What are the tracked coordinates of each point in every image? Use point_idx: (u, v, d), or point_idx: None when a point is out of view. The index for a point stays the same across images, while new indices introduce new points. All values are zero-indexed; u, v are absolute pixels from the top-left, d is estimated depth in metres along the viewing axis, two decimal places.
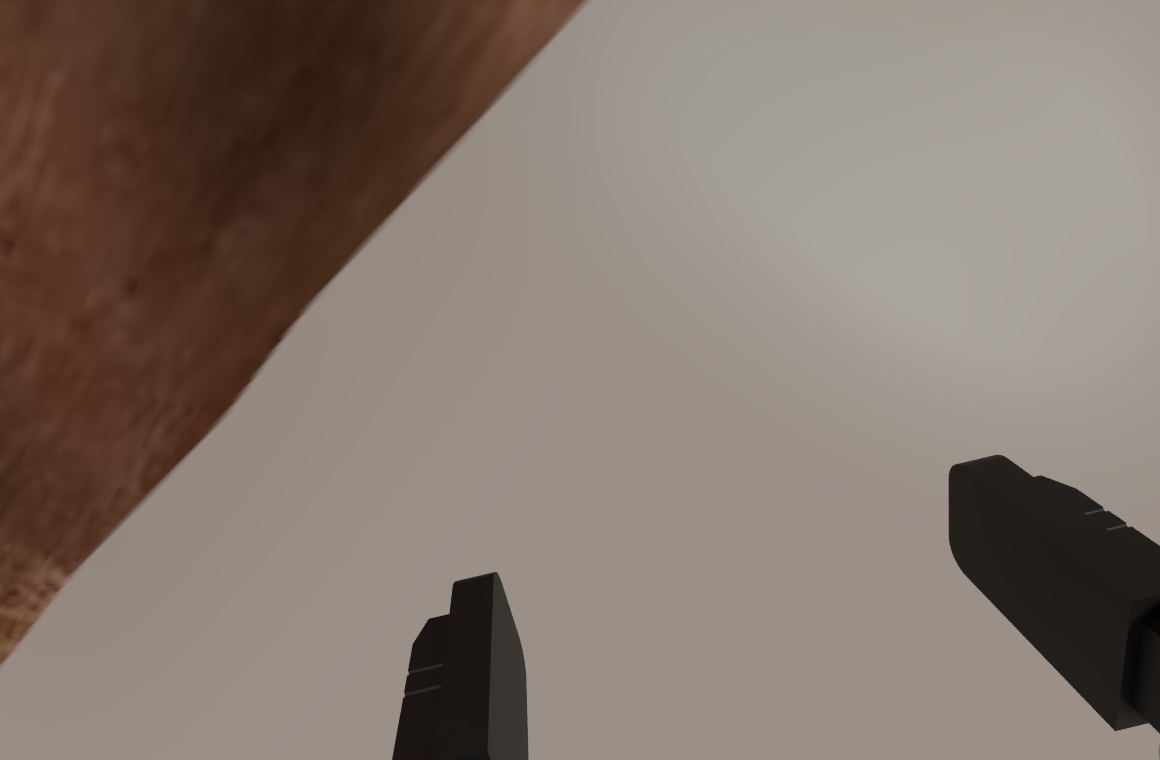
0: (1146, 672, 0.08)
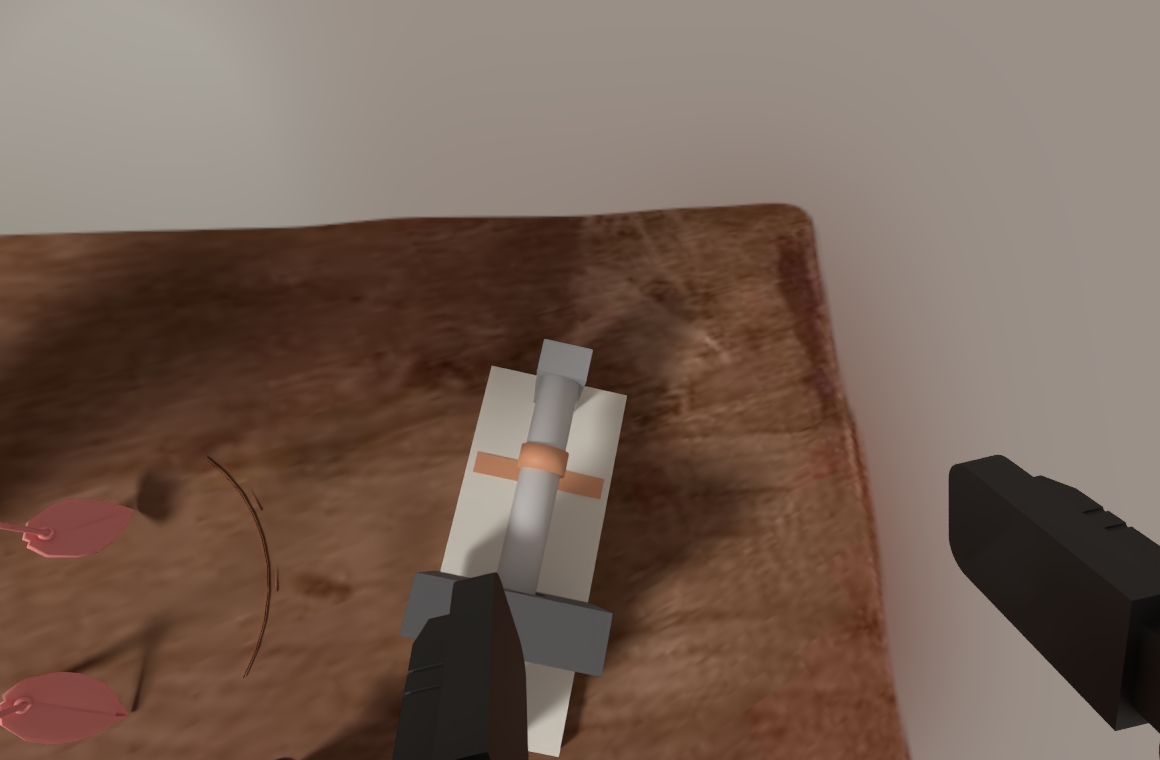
0: (1146, 672, 0.08)
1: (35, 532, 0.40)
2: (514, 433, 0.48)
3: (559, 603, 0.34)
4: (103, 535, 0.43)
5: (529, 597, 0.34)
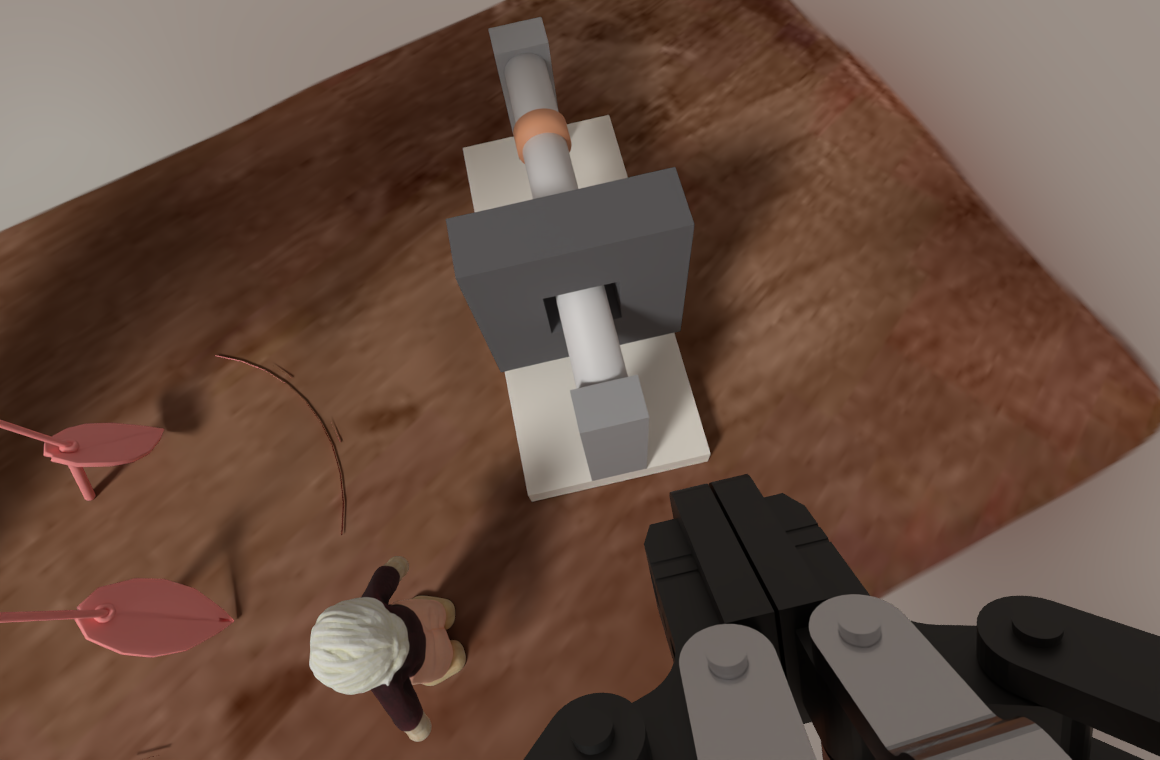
0: (803, 673, 0.10)
1: (54, 440, 0.35)
2: (513, 192, 0.44)
3: (613, 181, 0.29)
4: (135, 447, 0.38)
5: (578, 190, 0.29)
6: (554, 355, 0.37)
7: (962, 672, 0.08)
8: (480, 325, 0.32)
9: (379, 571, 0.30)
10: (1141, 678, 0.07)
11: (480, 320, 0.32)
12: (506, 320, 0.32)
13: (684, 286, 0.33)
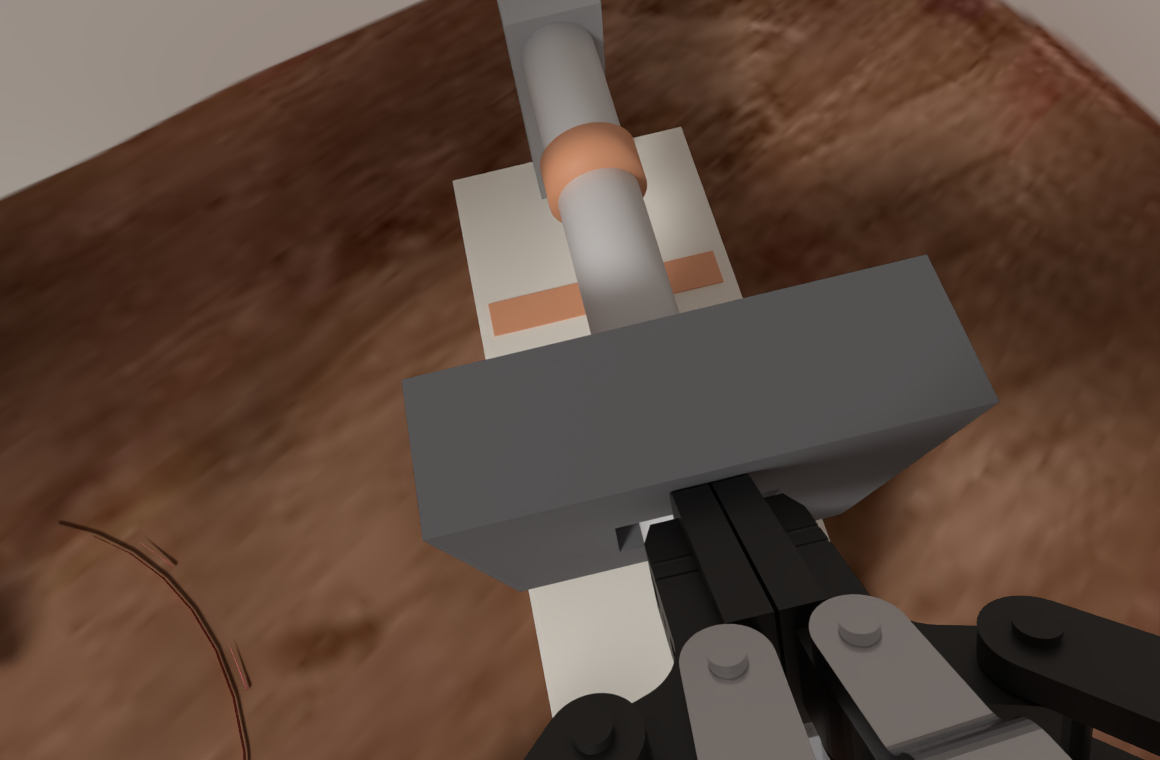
0: (802, 674, 0.10)
1: None
2: (534, 253, 0.28)
3: (786, 290, 0.13)
4: None
5: (705, 311, 0.13)
6: (617, 565, 0.20)
7: (962, 672, 0.08)
8: (483, 569, 0.16)
9: None
10: (1141, 678, 0.07)
11: (483, 565, 0.15)
12: (536, 556, 0.16)
13: (893, 475, 0.16)
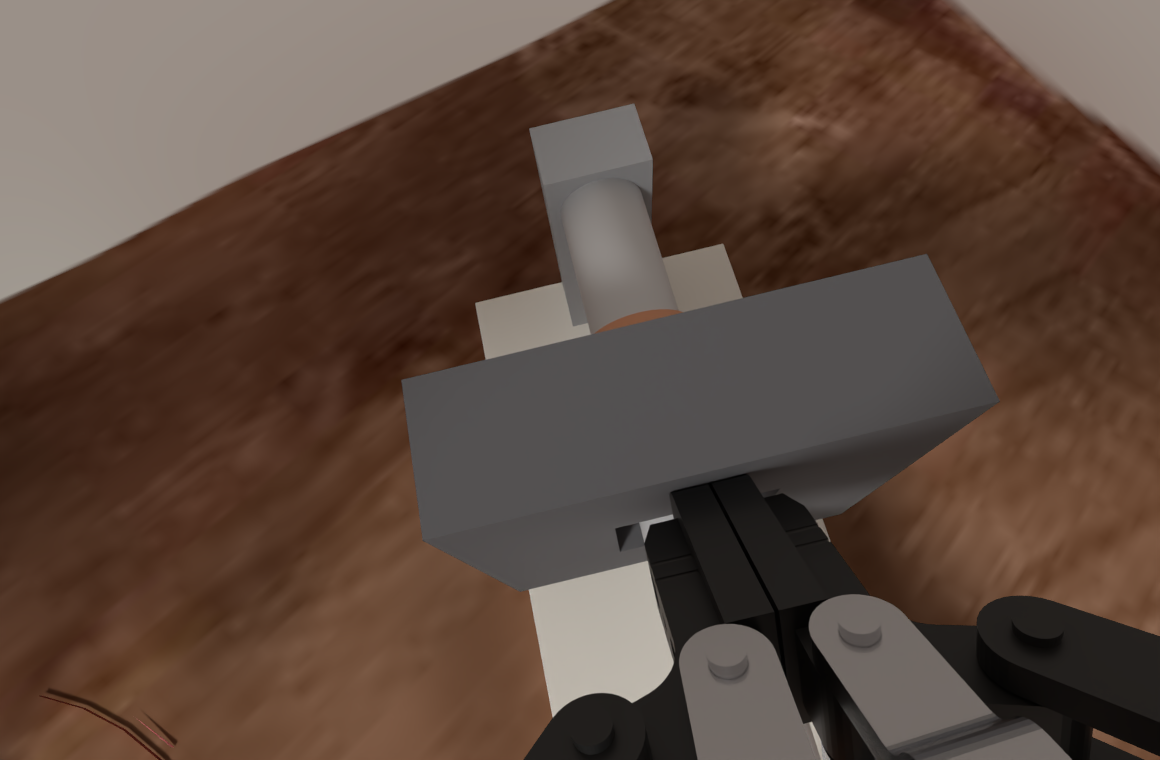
0: (802, 673, 0.10)
1: None
2: None
3: (785, 289, 0.13)
4: None
5: (705, 310, 0.13)
6: (617, 565, 0.20)
7: (962, 672, 0.08)
8: (483, 569, 0.16)
9: None
10: (1141, 678, 0.07)
11: (483, 565, 0.15)
12: (536, 556, 0.16)
13: (893, 475, 0.16)
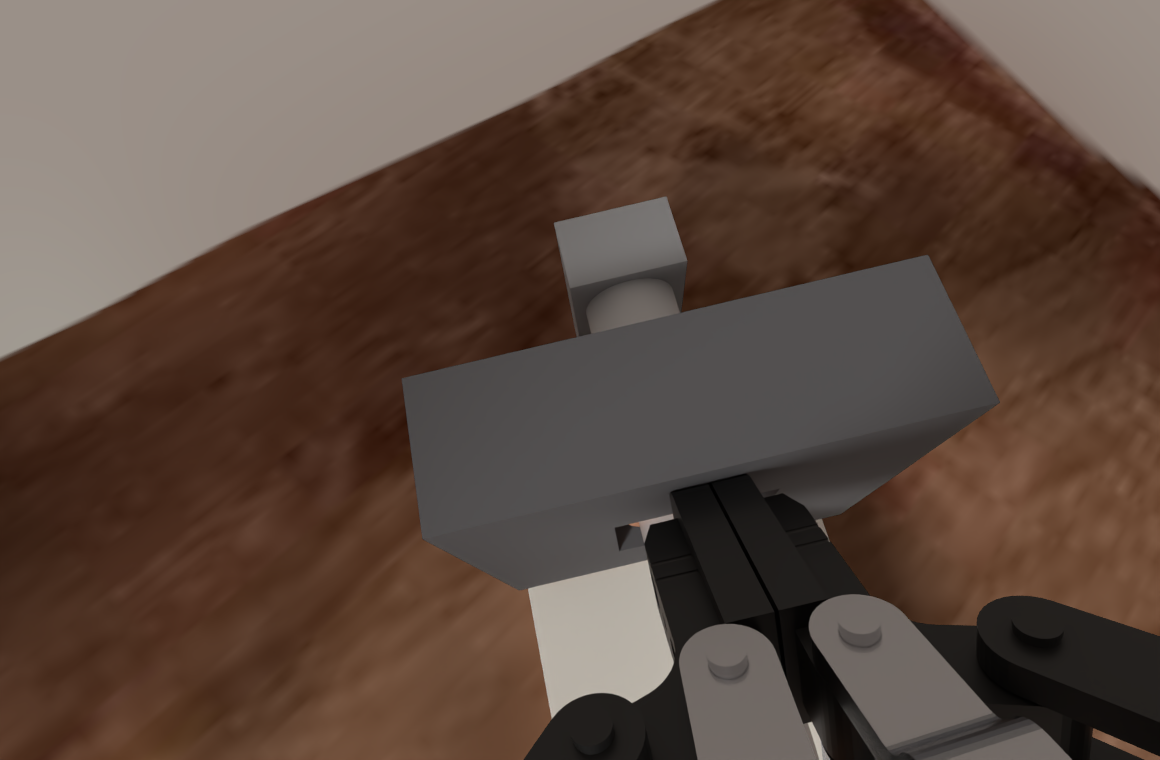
0: (803, 673, 0.10)
1: None
2: None
3: (786, 289, 0.13)
4: None
5: (706, 310, 0.13)
6: (616, 565, 0.20)
7: (962, 672, 0.08)
8: (482, 567, 0.16)
9: None
10: (1141, 678, 0.07)
11: (482, 564, 0.15)
12: (536, 555, 0.16)
13: (892, 475, 0.16)
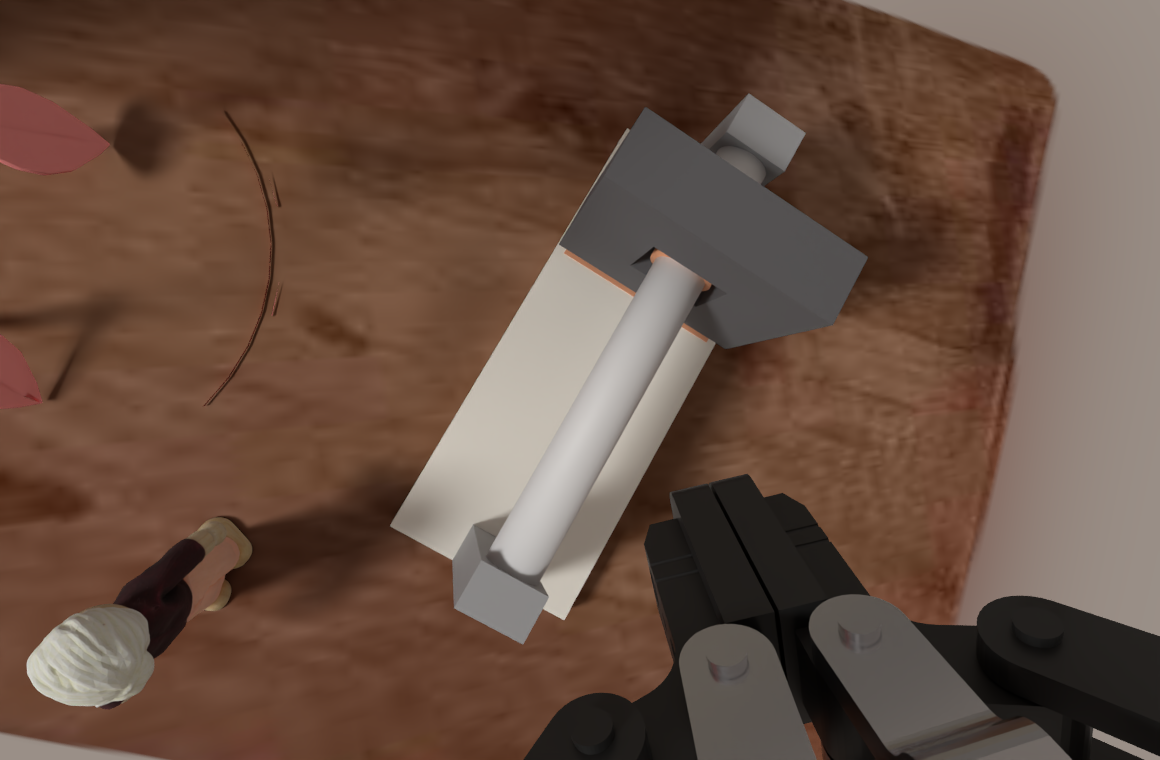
0: (802, 674, 0.10)
1: None
2: None
3: (809, 218, 0.25)
4: (59, 156, 0.31)
5: (775, 197, 0.25)
6: (613, 274, 0.34)
7: (962, 672, 0.08)
8: (582, 212, 0.28)
9: (185, 548, 0.26)
10: (1141, 678, 0.07)
11: (586, 210, 0.28)
12: (607, 228, 0.28)
13: (767, 338, 0.30)
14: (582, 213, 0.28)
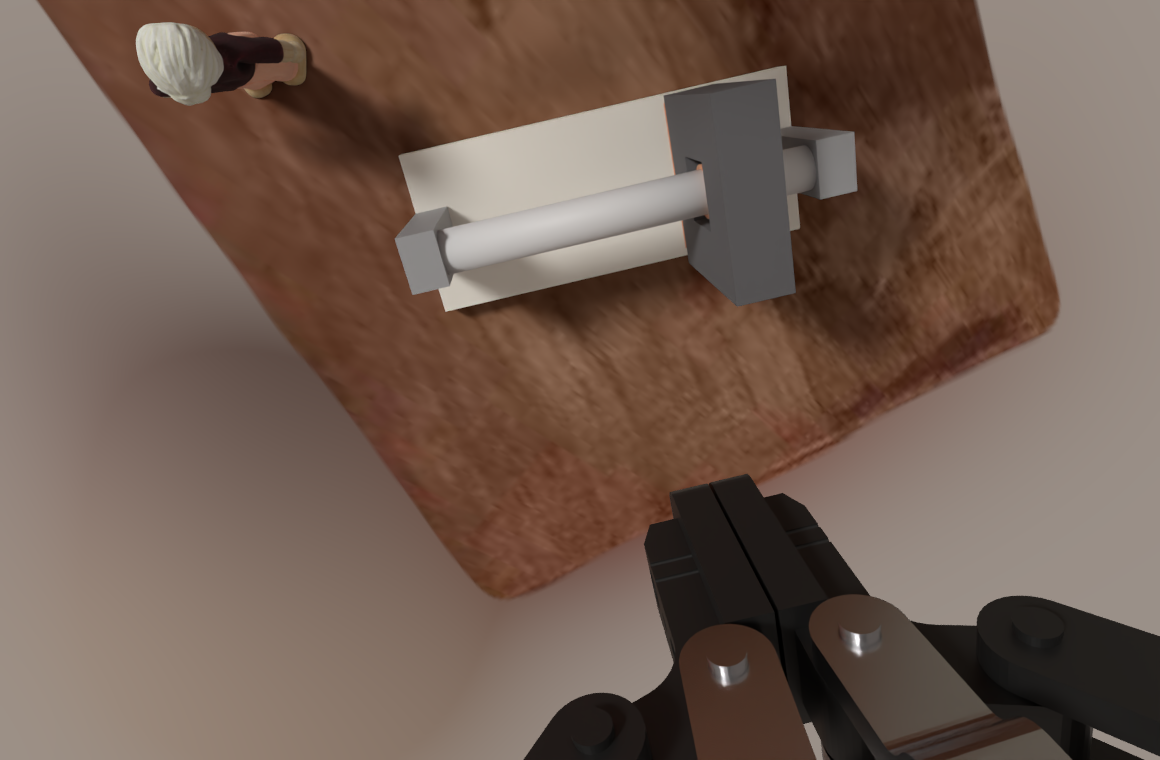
0: (802, 674, 0.10)
1: None
2: None
3: (789, 239, 0.33)
4: None
5: (786, 208, 0.33)
6: (673, 150, 0.40)
7: (962, 672, 0.08)
8: (687, 96, 0.34)
9: (273, 47, 0.33)
10: (1141, 678, 0.07)
11: (689, 98, 0.34)
12: (690, 122, 0.35)
13: (709, 280, 0.39)
14: (686, 97, 0.35)
